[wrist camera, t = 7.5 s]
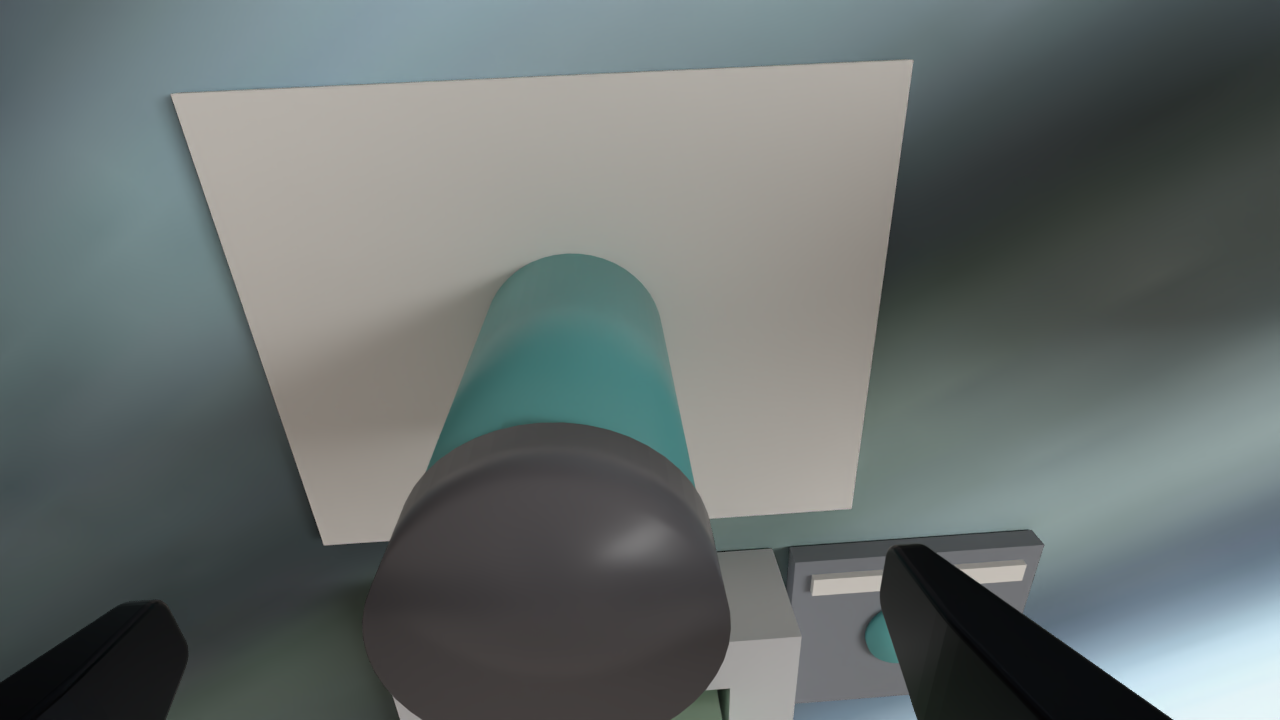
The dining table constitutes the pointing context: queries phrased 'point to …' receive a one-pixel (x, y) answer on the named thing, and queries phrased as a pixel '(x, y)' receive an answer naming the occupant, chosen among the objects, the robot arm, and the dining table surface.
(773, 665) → the button housing
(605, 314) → the marker
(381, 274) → the paper
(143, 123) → the dining table surface
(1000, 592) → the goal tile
